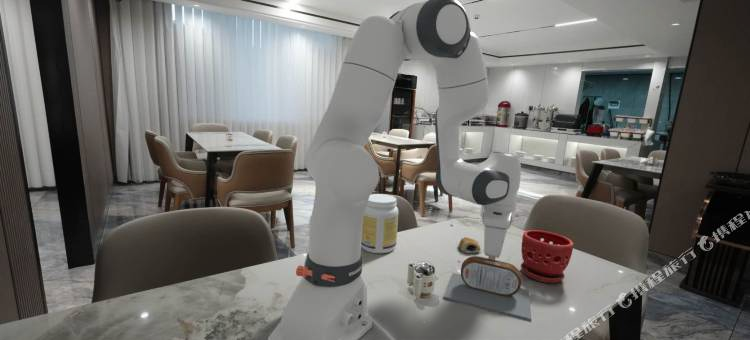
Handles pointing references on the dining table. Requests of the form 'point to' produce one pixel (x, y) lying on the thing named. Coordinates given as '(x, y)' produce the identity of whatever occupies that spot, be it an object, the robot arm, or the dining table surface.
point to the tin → (491, 276)
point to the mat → (489, 299)
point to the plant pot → (545, 255)
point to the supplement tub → (380, 224)
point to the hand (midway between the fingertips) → (491, 259)
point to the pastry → (469, 245)
